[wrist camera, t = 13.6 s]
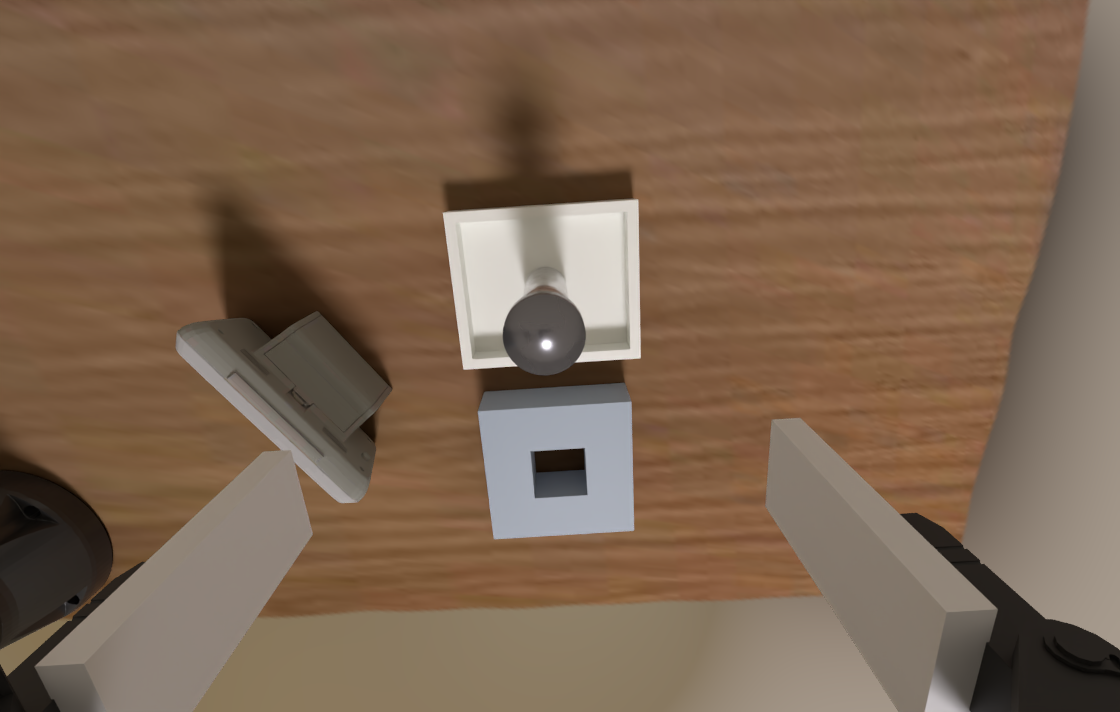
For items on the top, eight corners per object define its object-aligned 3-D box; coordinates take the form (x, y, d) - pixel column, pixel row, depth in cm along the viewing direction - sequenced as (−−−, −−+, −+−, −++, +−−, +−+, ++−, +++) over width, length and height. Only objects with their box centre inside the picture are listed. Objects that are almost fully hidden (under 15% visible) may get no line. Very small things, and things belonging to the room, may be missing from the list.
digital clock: (222, 316, 42) (118, 359, 32) (315, 267, 41) (237, 295, 31) (335, 473, 47) (276, 553, 37) (422, 432, 46) (385, 504, 36)
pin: (510, 268, 41) (490, 310, 27) (564, 251, 40) (571, 284, 27) (528, 321, 42) (518, 385, 28) (580, 304, 42) (596, 361, 28)
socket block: (498, 511, 48) (493, 539, 45) (484, 391, 45) (477, 411, 41) (627, 503, 48) (634, 530, 44) (624, 382, 44) (631, 401, 41)
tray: (468, 359, 44) (463, 369, 41) (449, 210, 40) (442, 212, 37) (635, 348, 43) (640, 358, 41) (633, 198, 40) (638, 199, 37)
